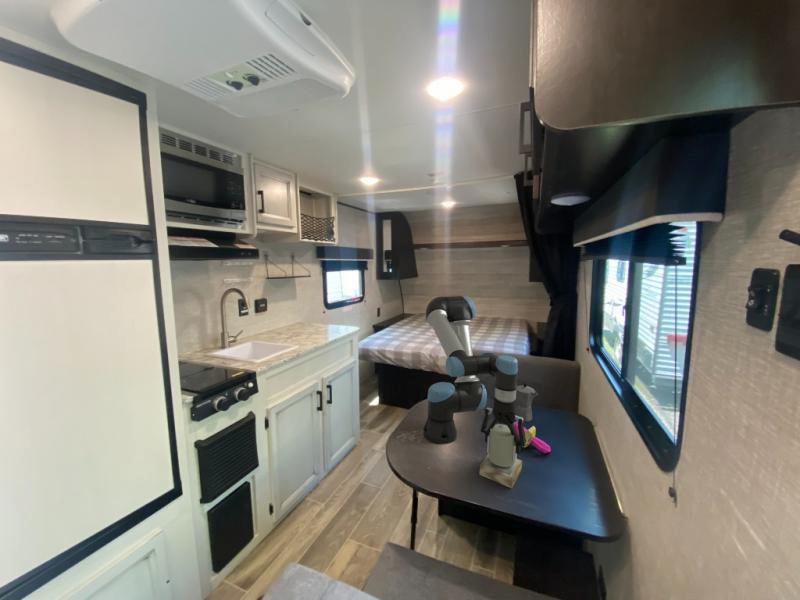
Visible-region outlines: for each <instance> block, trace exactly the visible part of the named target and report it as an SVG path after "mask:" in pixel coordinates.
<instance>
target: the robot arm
mask: <svg viewBox="0 0 800 600" xmlns="http://www.w3.org/2000/svg"><path fill="white" fill-rule="evenodd" d="M424 314H425V319H426V322H427V323H428V324H429V326H431V327H432V329H433V330H434V333H435V335H436V337H437V339H438V341H439V343H440V345H441V347H442V350H443V351H444V354H445V356H446V360H445V364H444V365H445V370H446V373H447V375H448V376H449V377H451V378H456V379H455V380H454V384H452V383H451V382H447V381H439V382H436V383H433V384H432V385H430V387H428V390H427V391H428V392H427V418H426V421H425V424H424V426H423V431H422V433H423V437H424V439H426V440H427V441H429V442H430V443H432V444H433V443H434V444H438V445H446V444H451V443H453V442H454V441H456V439H457V437H458V436H457V435H458V433H457V432H458V431H457V428H456V424H455V420H454V414H458V413H467V412H476V411H481V410H483V409H484V408H485V407H486V404H487V400H488V394H487V389H486V386H485V385H484V384H483V383H481V382H480V378H479V377H477V376H482V375H483V376H485V375H490V376H492V378H494V391H493V392H494V394H493V395H494V398H493V408H491V407H490V406H487V407H486V408H485V409H484V418H483V421H482V424H481V427H480V432H481V433H483V434H484V435H485V436H484V437H485V438H484V441H485V443H487V444H486V445H487V446H486V452H487V454H488V453H489V449H490V428H491V429H493V427H494V426H495V425H496V424H498V423H500V424H503V425H507V426H508V428H509V429H510V432H511V434H512V435H513V436H514V442H515V444H514V445H513V460H512V462H514V463H515V461H516V459H518V458H517V457H518V454H520V452H521V447H522V446H524V445H525V444H526V438H525V432H524V427H525V426H524V422H525V421H524V417H518V416H516V414H515V409H516V404H517V400H516V387H517V386H518V385H517V384H518V373H519V368H518V366H519V364H518V363H519V361H518V359H517V358H516V357H514V356H511V355H506V354H505V355H504V354H501V355H497V354H495V353H493V352H490V351H483V352H482V353H480V354H476V355H474V353H473V346H472V339H471V338H472V337H471V330H470V329H471V328H470V325H471V324H472V319H474V318H475V316H476V315H475V314H476V307H475V304H474V302H473V300H472V299H471V298H470V297H469V296H465V295H464V296H463V295H452V296H446V295H445V296H436V297H435V298H433V299H431V300H430V301H429V303H427V305H426V308H425V313H424ZM492 414H493V417H495V418H494V419H493V420H492V422H491V424H490V426H489V427H488V429H487V426H488V424H489V421H490V417H491V415H492ZM514 420H515V421H514ZM514 422H517V423H518V430H519V436H520V437H519V436H518V433H517V431H516V428H515V426H514Z"/></svg>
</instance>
